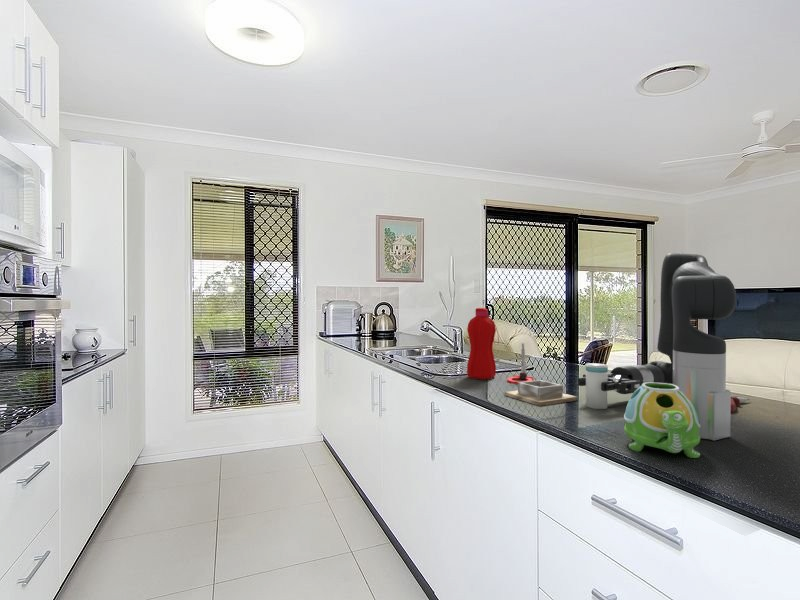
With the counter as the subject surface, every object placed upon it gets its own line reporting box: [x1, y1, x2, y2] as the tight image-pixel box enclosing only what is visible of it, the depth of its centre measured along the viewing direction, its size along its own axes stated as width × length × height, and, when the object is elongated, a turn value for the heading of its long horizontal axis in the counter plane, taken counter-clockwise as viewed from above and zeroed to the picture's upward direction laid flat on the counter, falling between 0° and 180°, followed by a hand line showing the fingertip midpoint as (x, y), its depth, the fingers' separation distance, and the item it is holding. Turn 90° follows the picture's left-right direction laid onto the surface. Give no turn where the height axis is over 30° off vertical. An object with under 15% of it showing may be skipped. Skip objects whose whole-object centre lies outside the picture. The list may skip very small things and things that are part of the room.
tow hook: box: [506, 342, 534, 385], centre depth 147 cm, size 8×13×9 cm
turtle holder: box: [623, 382, 701, 459], centre depth 80 cm, size 12×18×12 cm
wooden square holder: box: [503, 379, 578, 407], centre depth 123 cm, size 14×14×4 cm
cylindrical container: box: [585, 362, 609, 410], centre depth 113 cm, size 5×5×11 cm
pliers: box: [731, 395, 751, 413], centre depth 116 cm, size 12×20×3 cm, turn 116°
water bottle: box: [466, 307, 500, 381], centre depth 154 cm, size 9×11×25 cm
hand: (590, 384), depth 112 cm, fingers open, 6 cm apart
